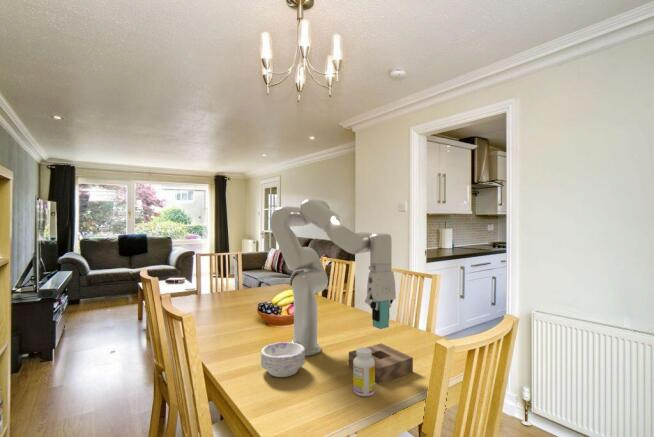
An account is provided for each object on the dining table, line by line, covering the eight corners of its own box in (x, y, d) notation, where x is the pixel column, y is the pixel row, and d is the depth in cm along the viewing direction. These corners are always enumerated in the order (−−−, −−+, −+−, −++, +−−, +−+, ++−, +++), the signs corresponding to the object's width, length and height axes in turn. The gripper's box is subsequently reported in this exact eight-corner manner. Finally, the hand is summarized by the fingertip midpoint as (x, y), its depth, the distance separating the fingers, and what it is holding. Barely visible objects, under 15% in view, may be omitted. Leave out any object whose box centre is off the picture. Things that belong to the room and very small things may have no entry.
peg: (380, 329, 115) (380, 300, 115) (372, 326, 119) (372, 298, 119) (388, 327, 117) (388, 298, 117) (380, 324, 121) (381, 296, 121)
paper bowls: (283, 358, 126) (283, 337, 126) (313, 370, 117) (313, 347, 117) (251, 372, 115) (251, 349, 115) (281, 386, 105) (281, 361, 105)
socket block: (378, 384, 107) (378, 368, 107) (348, 365, 120) (348, 352, 120) (412, 372, 116) (412, 357, 116) (381, 356, 129) (381, 343, 129)
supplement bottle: (372, 386, 106) (373, 346, 106) (376, 397, 99) (376, 354, 99) (351, 386, 105) (352, 346, 105) (354, 397, 99) (354, 354, 99)
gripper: (369, 271, 110) (369, 326, 110) (405, 267, 120) (405, 318, 119) (355, 268, 117) (355, 320, 116) (390, 265, 126) (390, 313, 126)
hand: (380, 318), depth 118 cm, fingers closed on peg, 4 cm apart
